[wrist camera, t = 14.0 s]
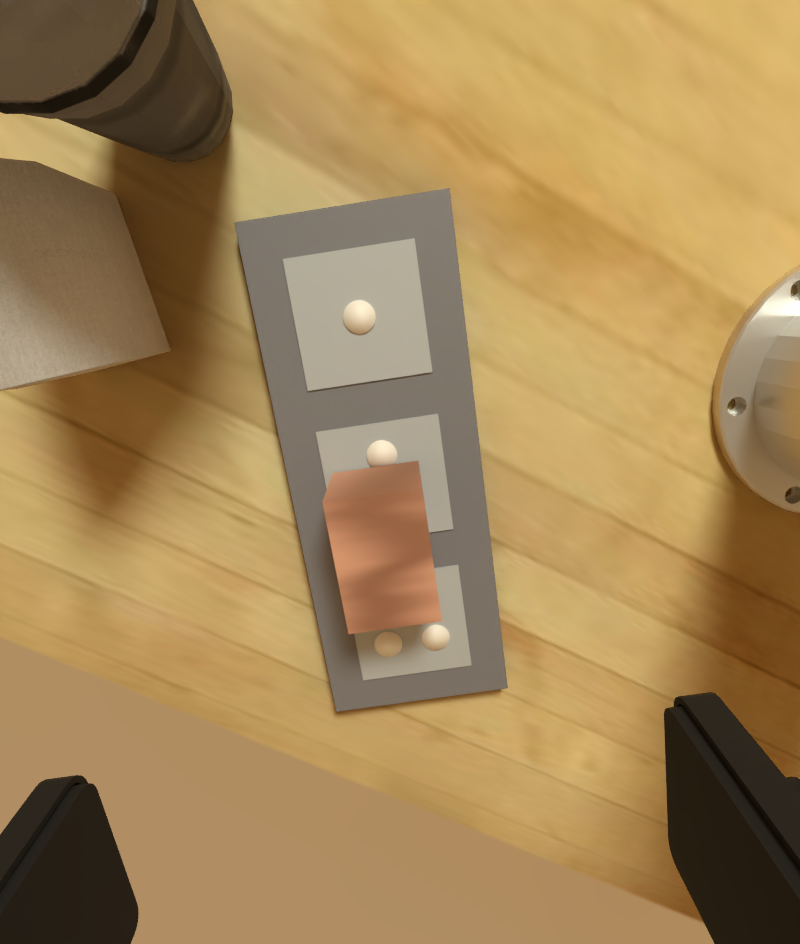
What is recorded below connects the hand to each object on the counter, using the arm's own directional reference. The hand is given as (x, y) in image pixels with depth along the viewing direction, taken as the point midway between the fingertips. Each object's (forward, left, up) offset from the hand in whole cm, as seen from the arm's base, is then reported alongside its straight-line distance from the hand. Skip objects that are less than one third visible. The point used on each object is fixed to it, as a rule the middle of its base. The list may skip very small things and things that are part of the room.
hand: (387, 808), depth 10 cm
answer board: (0, 0, -20) cm, 20 cm away
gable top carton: (+11, -10, -20) cm, 25 cm away
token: (+1, -1, -17) cm, 17 cm away
